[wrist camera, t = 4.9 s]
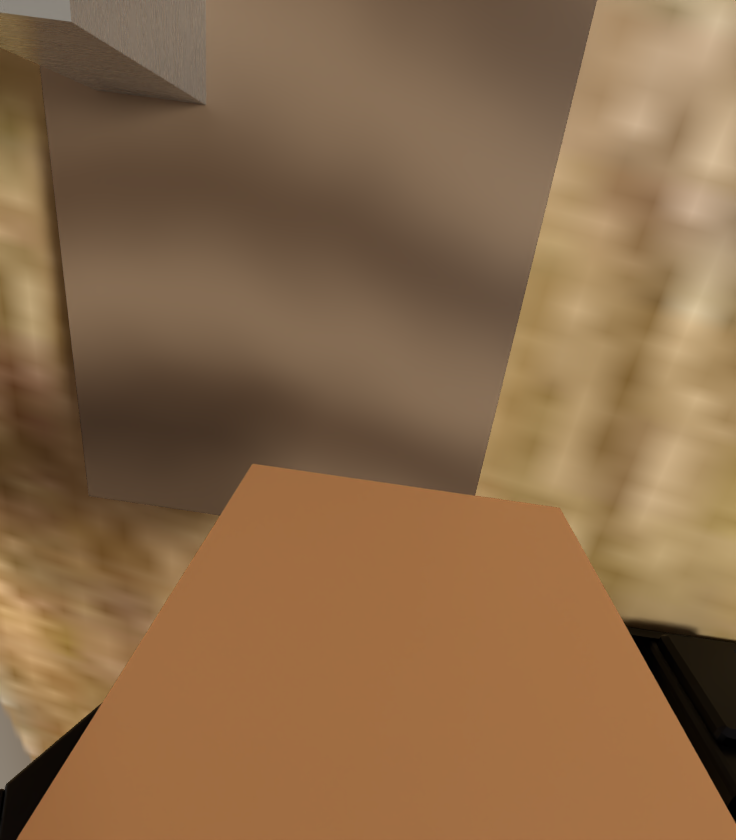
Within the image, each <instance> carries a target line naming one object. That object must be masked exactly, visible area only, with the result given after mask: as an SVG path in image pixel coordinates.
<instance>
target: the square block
mask: <svg viewBox="0 0 736 840" xmlns="http://www.w3.org/2000/svg"><path fill="white" fill-rule="evenodd" d="M16 840H736V823H735V821H734V819H733V818H732V816H731V814H730V812H729V810H728V809H727V807H726V805H725V803H724V801H723V800H722V798H721V796H720V794H719V793H718V791H717V789H716V787H715V785H714V784H713V782H712V780H711V778H710V776H709V775H708V773H707V771H706V769H705V767H704V766H703V764H702V762H701V760H700V758H699V757H698V755H697V753H696V751H695V749H694V748H693V746H692V744H691V742H690V741H689V739H688V737H687V735H686V733H685V732H684V730H683V728H682V726H681V724H680V723H679V721H678V719H677V717H676V715H675V714H674V712H673V710H672V708H671V706H670V705H669V703H668V701H667V699H666V697H665V696H664V694H663V692H662V690H661V689H660V687H659V685H658V683H657V681H656V680H655V678H654V676H653V674H652V672H651V671H650V669H649V667H648V665H647V663H646V662H645V660H644V658H643V656H642V654H641V653H640V651H639V649H638V647H637V645H636V644H635V642H634V640H633V638H632V637H631V635H630V633H629V631H628V629H627V628H626V626H625V624H624V622H623V620H622V619H621V617H620V615H619V613H618V611H617V610H616V608H615V606H614V604H613V602H612V601H611V599H610V597H609V595H608V594H607V592H606V590H605V588H604V586H603V585H602V583H601V581H600V579H599V577H598V576H597V574H596V572H595V570H594V568H593V567H592V565H591V563H590V561H589V559H588V558H587V556H586V554H585V552H584V550H583V549H582V547H581V545H580V543H579V542H578V540H577V538H576V536H575V534H574V533H573V531H572V529H571V527H570V525H569V524H568V522H567V520H566V518H565V516H564V515H563V513H562V511H561V509H560V508H557V507H550V506H543V505H536V504H529V503H522V502H515V501H508V500H502V499H495V498H488V497H481V496H474V495H467V494H460V493H453V492H446V491H439V490H432V489H425V488H418V487H411V486H404V485H397V484H390V483H383V482H377V481H370V480H363V479H356V478H349V477H342V476H335V475H328V474H321V473H314V472H307V471H300V470H293V469H286V468H279V467H272V466H265V465H258V464H252V465H251V467H250V469H249V470H248V472H247V473H246V475H245V476H244V478H243V480H242V481H241V483H240V484H239V486H238V488H237V489H236V491H235V492H234V494H233V496H232V497H231V499H230V500H229V502H228V504H227V505H226V507H225V508H224V510H223V512H222V513H221V515H220V516H219V518H218V519H217V521H216V523H215V524H214V526H213V527H212V529H211V531H210V532H209V534H208V535H207V537H206V539H205V540H204V542H203V543H202V545H201V547H200V548H199V550H198V551H197V553H196V554H195V556H194V558H193V559H192V561H191V562H190V564H189V566H188V567H187V569H186V570H185V572H184V574H183V575H182V577H181V578H180V580H179V582H178V583H177V585H176V586H175V588H174V590H173V591H172V593H171V594H170V596H169V597H168V599H167V601H166V602H165V604H164V605H163V607H162V609H161V610H160V612H159V613H158V615H157V617H156V618H155V620H154V621H153V623H152V625H151V626H150V628H149V629H148V631H147V632H146V634H145V636H144V637H143V639H142V640H141V642H140V644H139V645H138V647H137V648H136V650H135V652H134V653H133V655H132V656H131V658H130V660H129V661H128V663H127V664H126V666H125V668H124V669H123V671H122V672H121V674H120V675H119V677H118V679H117V680H116V682H115V683H114V685H113V687H112V688H111V690H110V691H109V693H108V695H107V696H106V698H105V699H104V701H103V703H102V704H101V706H100V707H99V709H98V710H97V712H96V714H95V715H94V717H93V718H92V720H91V722H90V723H89V725H88V726H87V728H86V730H85V731H84V733H83V734H82V736H81V738H80V739H79V741H78V742H77V744H76V746H75V747H74V749H73V750H72V752H71V753H70V755H69V757H68V758H67V760H66V761H65V763H64V765H63V766H62V768H61V769H60V771H59V773H58V774H57V776H56V777H55V779H54V781H53V782H52V784H51V785H50V787H49V788H48V790H47V792H46V793H45V795H44V796H43V798H42V800H41V801H40V803H39V804H38V806H37V808H36V809H35V811H34V812H33V814H32V816H31V817H30V819H29V820H28V822H27V824H26V825H25V827H24V828H23V830H22V831H21V833H20V835H19V836H18V838H17V839H16Z"/></svg>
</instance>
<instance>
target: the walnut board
mask: <svg viewBox="0 0 736 840" xmlns="http://www.w3.org/2000/svg"><path fill="white" fill-rule="evenodd" d="M596 2H597V0H206V105H202V104H195V103H187V102H180V101H173V100H165V99H158V98H150V97H143V96H135V95H128V94H120V93H113V92H105V91H98V90H94V89H92V88H90V87H88V86H85V85H83V84H81V83H79V82H76V81H74V80H72V79H70V78H67V77H65V76H63V75H61V74H58V73H56V72H54V71H52V70H49V69H47V68H45V67H43V66H40V73H41V81H42V90H43V99H44V108H45V116H46V125H47V134H48V143H49V151H50V160H51V169H52V178H53V186H54V195H55V204H56V213H57V222H58V230H59V239H60V248H61V257H62V265H63V274H64V283H65V292H66V300H67V309H68V318H69V327H70V335H71V344H72V353H73V362H74V371H75V379H76V388H77V397H78V406H79V414H80V423H81V432H82V441H83V449H84V458H85V467H86V476H87V484H88V493H89V496H93V497H99V498H106V499H113V500H120V501H126V502H133V503H140V504H147V505H154V506H160V507H167V508H174V509H181V510H187V511H194V512H201V513H208V514H215V515H221V513H222V512H223V510H224V508H225V507H226V505H227V504H228V502H229V500H230V499H231V497H232V496H233V494H234V492H235V491H236V489H237V488H238V486H239V484H240V483H241V481H242V480H243V478H244V476H245V475H246V473H247V472H248V470H249V469H250V467H251V465H252V464H258V465H265V466H272V467H279V468H286V469H293V470H300V471H307V472H314V473H321V474H328V475H335V476H342V477H349V478H356V479H363V480H370V481H377V482H383V483H390V484H397V485H404V486H411V487H418V488H425V489H432V490H439V491H446V492H453V493H460V494H467V495H474V496H475V493H476V489H477V485H478V481H479V477H480V473H481V469H482V465H483V461H484V457H485V453H486V449H487V444H488V440H489V436H490V432H491V428H492V424H493V420H494V416H495V412H496V408H497V404H498V400H499V396H500V392H501V388H502V384H503V379H504V375H505V371H506V367H507V363H508V359H509V355H510V351H511V347H512V343H513V339H514V335H515V331H516V327H517V323H518V319H519V314H520V310H521V306H522V302H523V298H524V294H525V290H526V286H527V282H528V278H529V274H530V270H531V266H532V262H533V258H534V254H535V249H536V245H537V241H538V237H539V233H540V229H541V225H542V221H543V217H544V213H545V209H546V205H547V201H548V197H549V193H550V189H551V184H552V180H553V176H554V172H555V168H556V164H557V160H558V156H559V152H560V148H561V144H562V140H563V136H564V132H565V128H566V124H567V119H568V115H569V111H570V107H571V103H572V99H573V95H574V91H575V87H576V83H577V79H578V75H579V71H580V67H581V63H582V59H583V54H584V50H585V46H586V42H587V38H588V34H589V30H590V26H591V22H592V18H593V14H594V10H595V6H596Z"/></svg>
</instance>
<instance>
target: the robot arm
mask: <svg viewBox="0 0 736 840" xmlns="http://www.w3.org/2000/svg"><path fill="white" fill-rule="evenodd" d="M626 628H627V629H628V631H629V633H630V635H631V637H632V638H633V640H634V642H635V644H636V645H637V647H638V649H639V651H640V653H641V654H642V656H643V658H644V660H645V662H646V663H647V665H648V667H649V669H650V671H651V672H652V674H653V676H654V678H655V680H656V681H657V683H658V685H659V687H660V689H661V690H662V692H663V694H664V696H665V697H666V699H667V701H668V703H669V705H670V706H671V708H672V710H673V712H674V714H675V715H676V717H677V719H678V721H679V723H680V724H681V726H682V728H683V730H684V732H685V733H686V735H687V737H688V739H689V741H690V742H691V744H692V746H693V748H694V749H695V751H696V753H697V755H698V757H699V758H700V760H701V762H702V764H703V766H704V767H705V769H706V771H707V773H708V775H709V776H710V778H711V780H712V782H713V784H714V785H715V787H716V789H717V791H718V793H719V794H720V796H721V798H722V800H723V801H724V803H725V805H726V807H727V809H728V810H729V812H730V814H731V816H732V818H733V819H734V821H735V823H736V643H731V642H724V641H717V640H711V639H704V638H697V637H691V636H684V635H677V634H671V633H664V632H657V631H651V630H644V629H637V628H630V627H626ZM102 703H103V702H102ZM102 703H101V704H102ZM101 704H100V705H99V706H98V707H97V708H95V709H94V710H93V711H92V712H91V713H89V714H88V715H87V716H86V717H85V718H84V719H82V720H81V721H80V722H79V723H78V724H76V725H75V726H74V727H73V728H72V729H71V730H69V731H68V732H67V733H66V734H65V735H63V736H62V737H61V738H60V739H59V740H58V741H56V742H55V743H54V744H53V745H52V746H50V747H49V748H48V749H47V750H46V751H45V752H43V753H42V754H41V755H40V756H39V757H38V758H36V759H35V760H34V761H33V762H32V763H30V764H29V765H28V766H27V767H26V768H25V769H23V770H22V771H21V772H20V773H19V774H17V775H16V776H15V777H14V778H13V779H12V780H10V781H9V782H8V783H7V784H6V786H5V790H4V789H0V840H16V839H17V838H18V836H19V835H20V833H21V831H22V830H23V828H24V827H25V825H26V824H27V822H28V820H29V819H30V817H31V816H32V814H33V812H34V811H35V809H36V808H37V806H38V804H39V803H40V801H41V800H42V798H43V796H44V795H45V793H46V792H47V790H48V788H49V787H50V785H51V784H52V782H53V781H54V779H55V777H56V776H57V774H58V773H59V771H60V769H61V768H62V766H63V765H64V763H65V761H66V760H67V758H68V757H69V755H70V753H71V752H72V750H73V749H74V747H75V746H76V744H77V742H78V741H79V739H80V738H81V736H82V734H83V733H84V731H85V730H86V728H87V726H88V725H89V723H90V722H91V720H92V718H93V717H94V715H95V714H96V712H97V710H98V709H99V707H100V706H101Z"/></svg>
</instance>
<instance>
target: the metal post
mask: <svg viewBox="0 0 736 840" xmlns="http://www.w3.org/2000/svg"><path fill="white" fill-rule="evenodd" d="M0 48H2V49H4V50H7V51H9V52H11V53H13V54H16V55H18V56H20V57H22V58H25V59H27V60H29V61H31V62H34V63H36V64H38V65H40V66H43V67H45V68H47V69H49V70H52V71H54V72H56V73H58V74H61V75H63V76H65V77H67V78H70V79H72V80H74V81H76V82H79V83H81V84H83V85H85V86H88V87H90V88H92V89H94V90H98V91H105V92H113V93H120V94H128V95H135V96H143V97H150V98H158V99H165V100H173V101H180V102H187V103H195V104H202V105H206V0H0Z"/></svg>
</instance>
